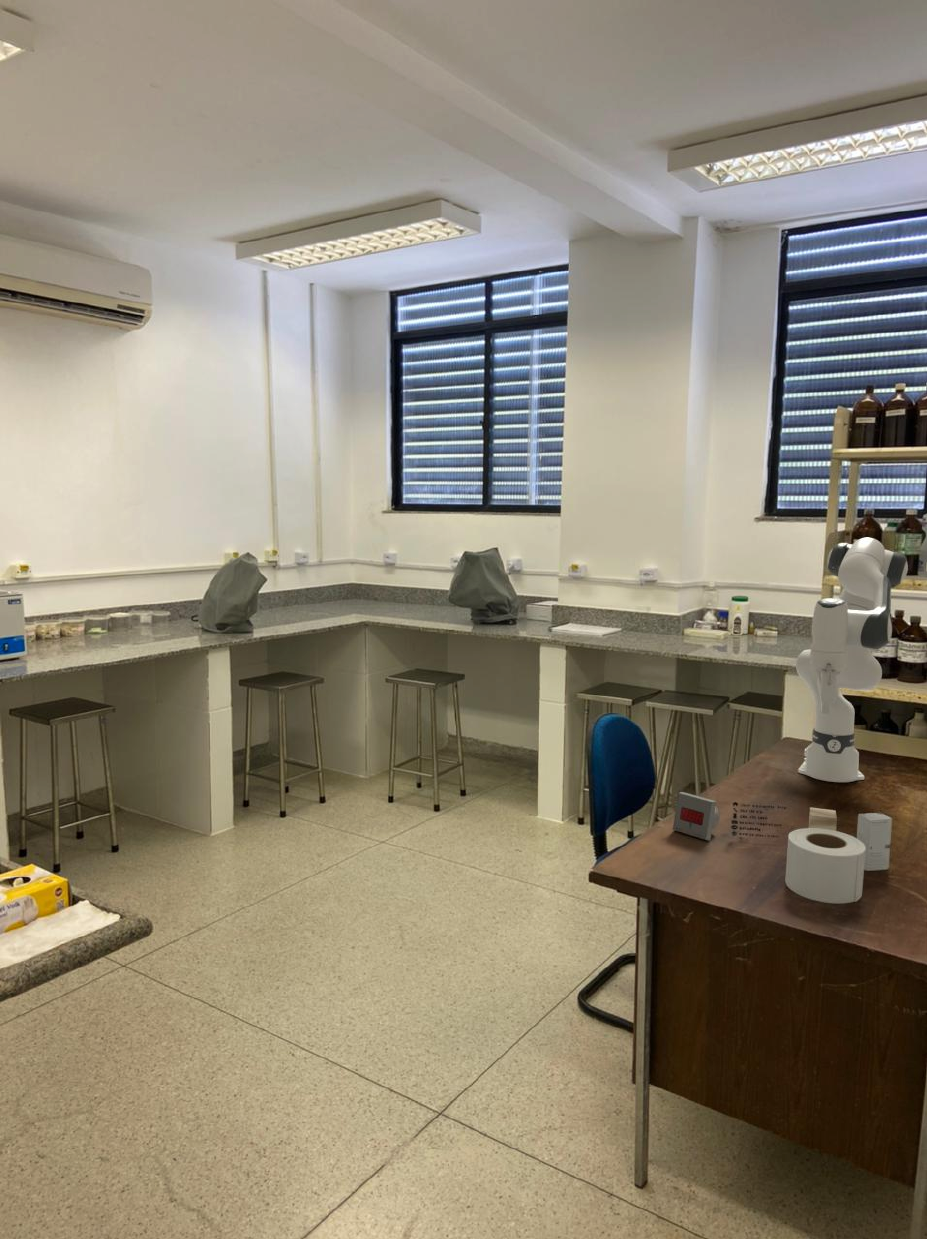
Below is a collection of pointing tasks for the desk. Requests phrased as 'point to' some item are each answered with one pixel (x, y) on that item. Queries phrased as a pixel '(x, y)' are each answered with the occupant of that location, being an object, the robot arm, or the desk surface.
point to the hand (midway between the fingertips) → (825, 712)
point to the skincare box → (875, 839)
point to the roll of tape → (825, 865)
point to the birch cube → (822, 819)
